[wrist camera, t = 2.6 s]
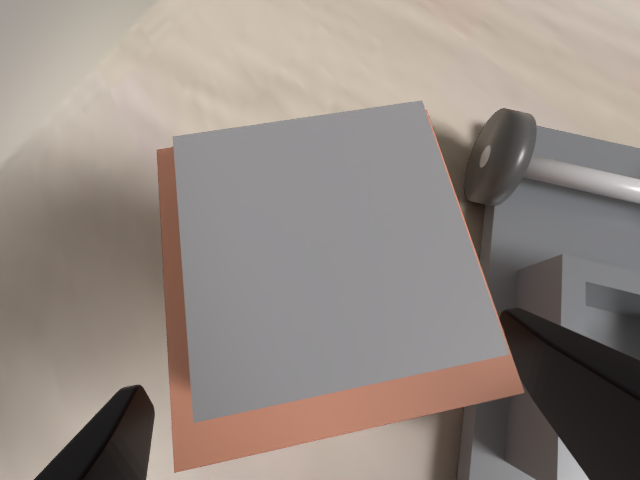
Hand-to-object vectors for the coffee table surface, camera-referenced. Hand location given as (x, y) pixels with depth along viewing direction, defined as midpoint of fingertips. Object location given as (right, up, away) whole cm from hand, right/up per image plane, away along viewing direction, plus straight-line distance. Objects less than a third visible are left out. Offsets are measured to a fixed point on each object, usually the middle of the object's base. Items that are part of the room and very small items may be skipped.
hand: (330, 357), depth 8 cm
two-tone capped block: (-1, -1, +9) cm, 10 cm away
